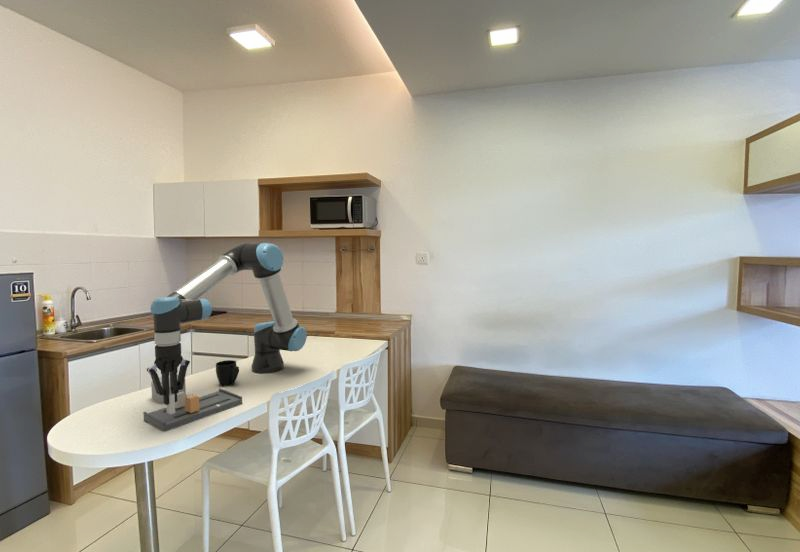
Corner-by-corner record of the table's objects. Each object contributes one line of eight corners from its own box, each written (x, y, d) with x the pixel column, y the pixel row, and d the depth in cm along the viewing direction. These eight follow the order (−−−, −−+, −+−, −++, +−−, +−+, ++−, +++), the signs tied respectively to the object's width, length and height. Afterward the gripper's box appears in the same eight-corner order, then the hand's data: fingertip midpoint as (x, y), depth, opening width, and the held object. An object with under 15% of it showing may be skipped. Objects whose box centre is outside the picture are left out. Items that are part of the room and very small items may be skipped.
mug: (229, 390, 165) (228, 368, 164) (212, 385, 171) (211, 363, 170) (246, 384, 171) (245, 363, 171) (229, 379, 178) (228, 359, 177)
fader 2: (193, 407, 141) (193, 393, 140) (199, 410, 138) (199, 395, 138) (184, 410, 138) (184, 395, 138) (190, 413, 136) (190, 398, 136)
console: (220, 395, 159) (220, 388, 159) (242, 403, 150) (241, 396, 150) (143, 420, 136) (143, 412, 136) (163, 431, 128) (163, 423, 127)
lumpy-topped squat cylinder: (175, 391, 164) (174, 370, 164) (192, 397, 157) (191, 376, 157) (148, 399, 155) (147, 377, 155) (165, 406, 148) (164, 383, 148)
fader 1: (180, 403, 145) (179, 389, 144) (185, 405, 142) (184, 391, 142) (171, 406, 142) (170, 391, 142) (176, 408, 140) (175, 394, 139)
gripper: (182, 338, 138) (185, 403, 140) (141, 346, 128) (144, 416, 129) (193, 341, 134) (196, 408, 136) (151, 349, 123) (155, 422, 125)
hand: (171, 412), depth 133 cm, fingers closed
